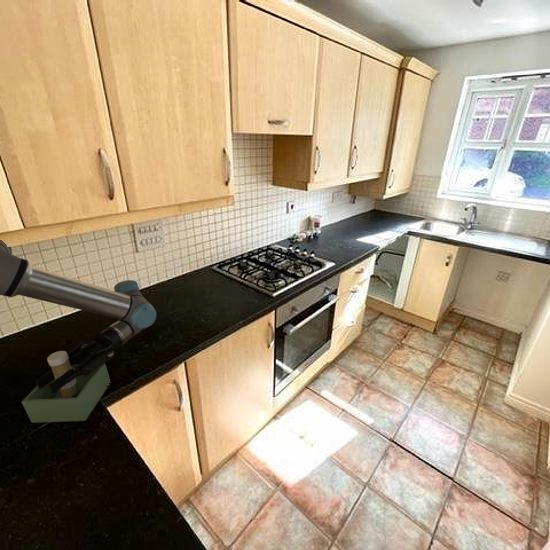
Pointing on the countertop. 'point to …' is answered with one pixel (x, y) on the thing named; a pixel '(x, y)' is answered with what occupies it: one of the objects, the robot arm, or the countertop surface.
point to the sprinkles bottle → (61, 366)
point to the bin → (67, 399)
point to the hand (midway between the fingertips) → (44, 386)
